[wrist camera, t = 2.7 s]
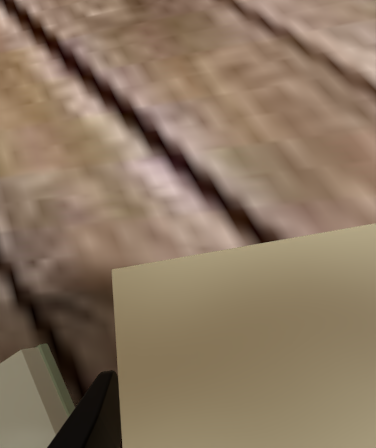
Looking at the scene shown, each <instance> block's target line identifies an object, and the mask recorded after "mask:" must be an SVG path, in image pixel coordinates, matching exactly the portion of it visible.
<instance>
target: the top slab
mask: <svg viewBox="0 0 376 448" xmlns="http://www.w3.org/2000/svg"><path fill="white" fill-rule="evenodd" d="M67 419H68V416H67V414H66V411H65V409H64V407H63V404H62V402H61V400H60V397H59V395H58V393H57V390H56V388H55V386H54V383H53V381H52V379H51V376H50V374H49V372H48V369H47V367H46V365H45V362H44V360H43V358H42V355H41V353H40V351H39V348H38V347H35V348H27V349H21V350H19V351H18V352H16V353H15V354H14V355H12V356H11V357H9V358H8V359H6V360H5V361H3V362H2V363H0V448H47V447H48V445H49V444H50V443H51V441H52V440H53V438H54V437H55V436H56V434H57V433H58V431H59V430H60V429H61V427H62V426H63V424H64V423H65V421H66V420H67Z"/></svg>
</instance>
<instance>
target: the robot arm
mask: <svg viewBox="0 0 376 448" xmlns="http://www.w3.org/2000/svg"><path fill="white" fill-rule="evenodd" d="M120 439H121V415H120V399H119V383H118V376H117V374H116V372H115V371H113V370H111V371H104V372H101V373H100V374H99V375H98V376H97V378H96V379H95V381H94V382H93V383H92V385H91V386H90V388H89V389H88V390H87V392H86V393H85V395H84V396H83V397H82V399H81V400H80V402H79V403H78V405H77V406H76V407H75V409H74V410H73V412H72V413H71V414H70V416H69V417H68V419H67V420H66V421H65V423H64V424H63V426H62V427H61V429H60V430H59V431H58V433H57V434H56V436H55V437H54V438H53V440H52V441H51V443H50V444H49V445H48V447H47V448H120Z"/></svg>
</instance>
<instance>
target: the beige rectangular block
mask: <svg viewBox="0 0 376 448" xmlns="http://www.w3.org/2000/svg"><path fill="white" fill-rule="evenodd" d="M112 286H113V302H114V318H115V334H116V350H117V366H118V383H119V399H120V415H121V431H122V447H123V448H376V224H370V225H364V226H358V227H353V228H347V229H341V230H336V231H330V232H324V233H318V234H313V235H307V236H301V237H295V238H290V239H284V240H278V241H273V242H267V243H261V244H255V245H250V246H244V247H238V248H233V249H227V250H221V251H215V252H210V253H204V254H198V255H192V256H187V257H181V258H175V259H170V260H164V261H158V262H152V263H147V264H141V265H135V266H130V267H124V268H118V269H112Z"/></svg>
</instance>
